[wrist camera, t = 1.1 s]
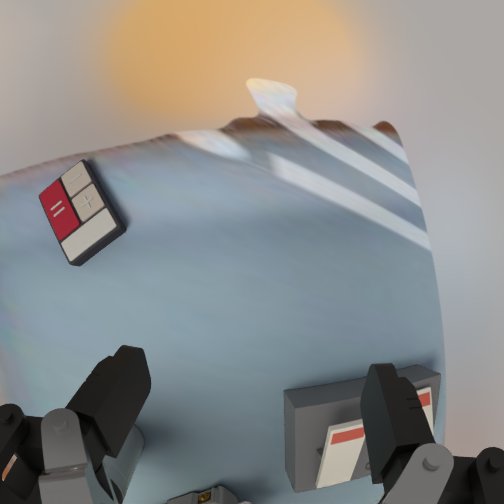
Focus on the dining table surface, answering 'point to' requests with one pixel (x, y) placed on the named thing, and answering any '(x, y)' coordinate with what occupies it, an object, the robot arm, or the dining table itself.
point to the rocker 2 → (426, 404)
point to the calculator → (80, 214)
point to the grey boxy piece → (209, 497)
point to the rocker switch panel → (333, 422)
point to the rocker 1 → (340, 453)
